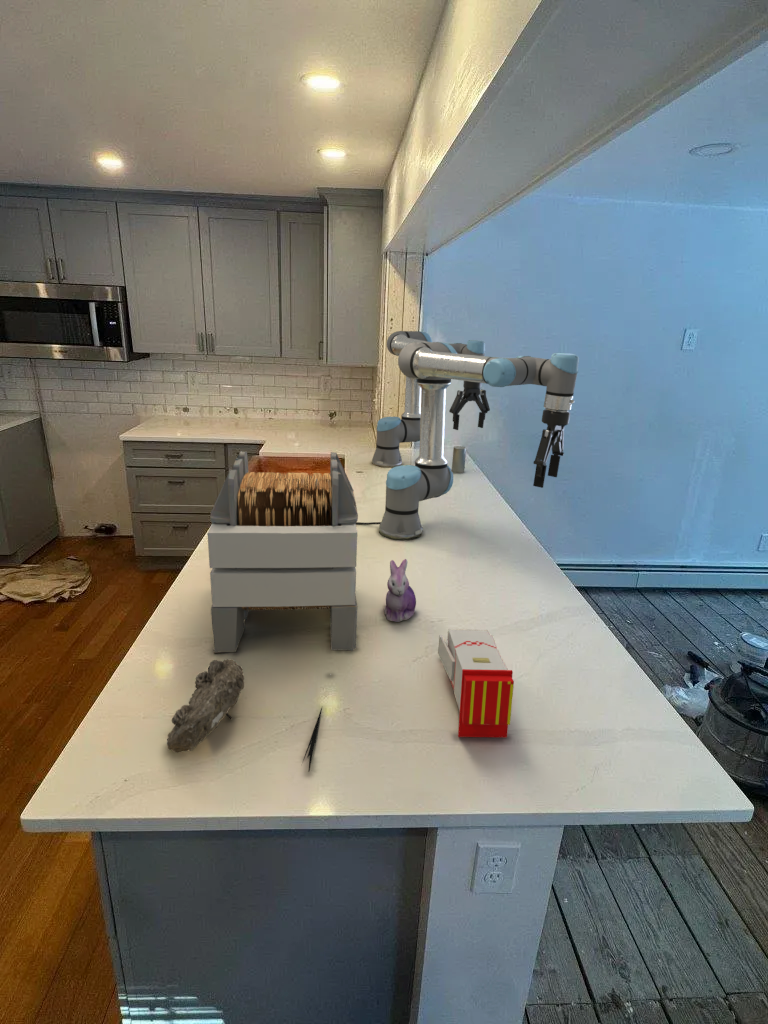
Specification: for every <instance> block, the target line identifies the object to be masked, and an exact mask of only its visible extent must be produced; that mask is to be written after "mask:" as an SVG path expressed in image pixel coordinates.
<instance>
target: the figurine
mask: <svg viewBox="0 0 768 1024" xmlns="http://www.w3.org/2000/svg"><path fill="white" fill-rule="evenodd" d="M407 567H408V559H406V558H404V559H403V560H402V561H401V563H400V565H399V566H398V565H397V563H396V562H395V561H394V560H393V559H391V560H390V561H389V570H390V576H389V578H388V579H387V589H388V591H387V592H386V594H385V595H386V596H385V607H384V615H385V616H386V620H387V621H391V622H395V623H400V622H402V621H406V620H409V619H410V618H411V617H413V616H414V615H415V610H416V606H417V597H416V593H415V591H414V590H413V587H411V586H410V582H409V579H408V577H407V574H406V571H407Z"/></svg>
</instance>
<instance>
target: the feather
mask: <svg viewBox="0 0 768 1024" xmlns="http://www.w3.org/2000/svg"><path fill="white" fill-rule="evenodd" d="M329 675H330V676H331V675H332V674H331V673H330V674H329ZM322 710H323V707H321V708H320V710H319V713H318V716H317V719H316V723H315V725H314V728H313V731H312V733H311V737H310V739H309V742H308V745H307V748H306V751H305V754H304V757H303V760H302V763H301V767H302V765H303V763H304V761H305V758H308V759H309V760H308V762H307V763H308V764H307V766H308V771H310V770H311V766H312V765H311V764H312V760H313V757H315V756H314V755H315V751H316V749H315V746H317V739H318V733H319V729H320V722H321V717H322V712H323V711H322ZM313 754H314V755H313ZM306 755H307V757H306Z"/></svg>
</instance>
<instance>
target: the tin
mask: <svg viewBox="0 0 768 1024" xmlns="http://www.w3.org/2000/svg"><path fill="white" fill-rule="evenodd" d="M452 449H453V450H452V459H451V460H452V462H451V471H452V472H453V474H454V473H455V474H464V473H465V469H466V468H465V467H466V456H467V447H466V446H463V445H455V446H453V448H452Z"/></svg>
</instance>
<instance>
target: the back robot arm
mask: <svg viewBox="0 0 768 1024" xmlns="http://www.w3.org/2000/svg"><path fill="white" fill-rule="evenodd" d="M415 342H420V343H421V342H433V339H432V337H431V335H430V334H429V333H428V332H426V331H420V330H397V331H394V332H393V333H391V334H390V335H389V336H388V338H387V340H386V347H387V348H386V349H387V350H388V352H389V353H390V354H391V355H393V356H396V357H399V354H400V352H401V350H402V349H403V348H404V347H405V346H407V345H408V344H411V343H415ZM449 344H450V345H451V346H452V347H453V348H454V349H455V351H456V352H457V354H466V355H477V356H486V342H485V341H484V340H477V339H476V340H474V339H470V340H468V341H467V343H466V344H465V343H462V342H454V343H449ZM462 384H463V390H457V391H456V395H455V398H454V400H453V402H452V404H451V406H450V409H449V410H448V411H449V413H450V414H452V422H453V426H452V429H453V430H455V431H459V427H460V426H459V425H460V417H461V416H460V414H459V413H461V411H462V409H463V408H464V407H465V405H466V404H467V403H468V402H475V404H476V406H477V408H478V409H479V410H480V411H479V412H478V422H477V428H480V429H484V422H485V420H486V414H488V412H490V411H491V408H490V404H489V401H488V397H487V390H486V389H482V384H483V383H478V382H470V381H463V383H462ZM404 393H405V394H404V412H403V413H402V414H401V418H400V417H399V416H385V417H382V418H381V417H380V419H378V421H377V424H376V443H375V444H376V445H375V451H374V453H373V456H372V459H371V463H372V465H374V466H375V467H381V468H394V467H396V466H400V465H403V458H402V455H401V451H400V444H401V443H402V444H403V443H404V444H405V443H417V442H420V417H421V387H420V386H419V385H418V384H417V379H413V378H409V377H407V376H405V392H404Z"/></svg>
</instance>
